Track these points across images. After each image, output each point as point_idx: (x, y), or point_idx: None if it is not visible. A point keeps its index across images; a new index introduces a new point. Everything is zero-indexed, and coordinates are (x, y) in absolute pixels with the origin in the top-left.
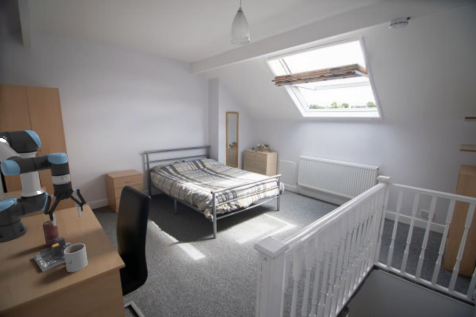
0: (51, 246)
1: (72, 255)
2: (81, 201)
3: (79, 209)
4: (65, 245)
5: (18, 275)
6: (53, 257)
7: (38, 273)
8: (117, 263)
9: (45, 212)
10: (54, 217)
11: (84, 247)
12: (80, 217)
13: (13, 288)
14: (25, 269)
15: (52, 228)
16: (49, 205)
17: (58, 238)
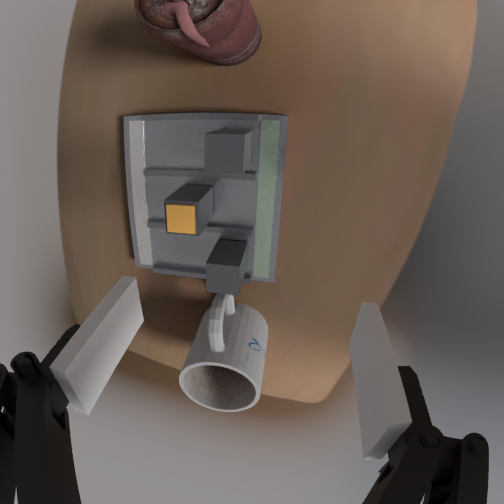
0: (165, 203)
1: (203, 397)
2: (456, 471)
3: (362, 430)
4: (218, 265)
5: (84, 210)
6: None
7: (130, 257)
8: (316, 400)
9: (8, 420)
10: (99, 383)
11: (249, 407)
12: (349, 349)
13: (79, 271)
14: (100, 188)
15: (196, 45)
16: (10, 495)
17: (218, 135)
